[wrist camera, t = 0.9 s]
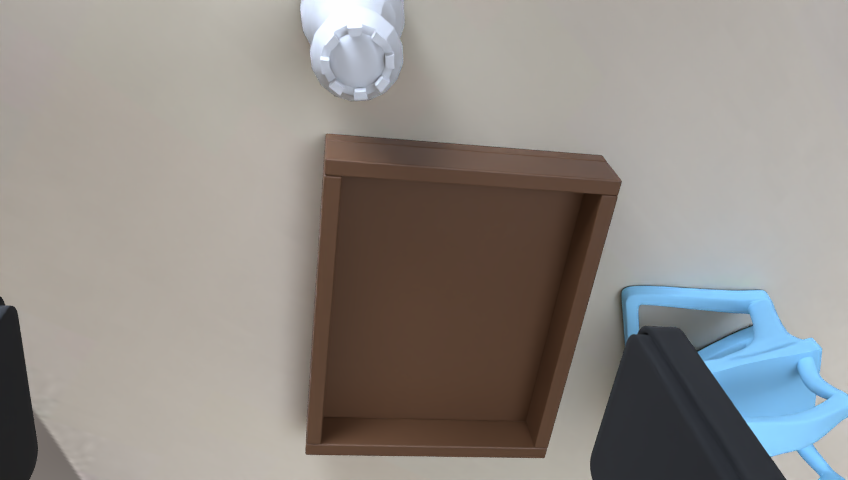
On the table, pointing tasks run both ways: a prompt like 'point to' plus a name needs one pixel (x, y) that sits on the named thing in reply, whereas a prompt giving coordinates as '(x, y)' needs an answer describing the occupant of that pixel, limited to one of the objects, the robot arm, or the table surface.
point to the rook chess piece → (354, 45)
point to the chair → (759, 369)
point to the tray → (450, 295)
